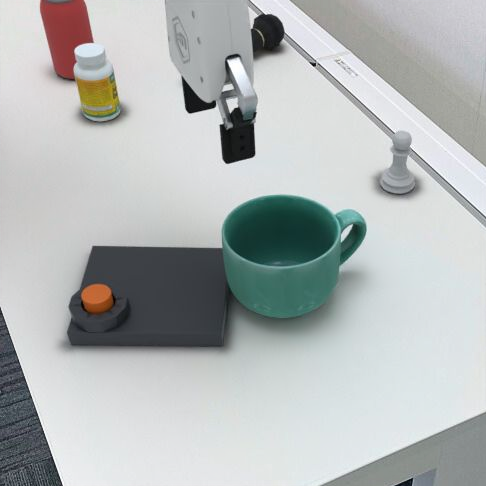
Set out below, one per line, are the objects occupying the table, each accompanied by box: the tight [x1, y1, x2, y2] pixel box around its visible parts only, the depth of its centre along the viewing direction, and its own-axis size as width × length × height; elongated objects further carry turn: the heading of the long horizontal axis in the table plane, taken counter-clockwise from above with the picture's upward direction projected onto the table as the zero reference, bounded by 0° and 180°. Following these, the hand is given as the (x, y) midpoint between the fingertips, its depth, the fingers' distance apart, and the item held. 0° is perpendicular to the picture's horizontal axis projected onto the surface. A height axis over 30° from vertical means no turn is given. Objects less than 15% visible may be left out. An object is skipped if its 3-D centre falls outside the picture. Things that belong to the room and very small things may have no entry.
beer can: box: [39, 0, 95, 80], centre depth 115 cm, size 7×7×12 cm
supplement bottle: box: [74, 42, 122, 122], centre depth 109 cm, size 5×5×10 cm
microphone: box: [251, 13, 286, 54], centre depth 123 cm, size 6×6×20 cm
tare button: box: [81, 284, 114, 314], centre depth 81 cm, size 3×3×2 cm
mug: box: [221, 193, 368, 319], centre depth 85 cm, size 17×13×10 cm
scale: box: [66, 245, 230, 347], centre depth 85 cm, size 16×14×4 cm
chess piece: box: [379, 130, 416, 195], centre depth 101 cm, size 5×5×8 cm
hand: (219, 133), depth 76 cm, fingers open, 9 cm apart
